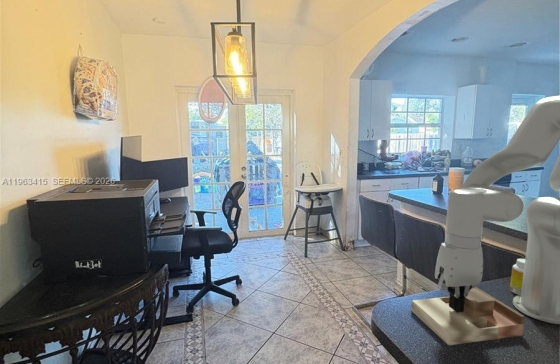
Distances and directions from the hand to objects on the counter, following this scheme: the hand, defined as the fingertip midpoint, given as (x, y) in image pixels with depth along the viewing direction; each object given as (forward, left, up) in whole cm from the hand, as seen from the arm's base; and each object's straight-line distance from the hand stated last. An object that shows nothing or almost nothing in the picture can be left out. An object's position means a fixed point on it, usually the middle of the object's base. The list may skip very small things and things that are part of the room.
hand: (455, 309), depth 75 cm
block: (-5, +2, -1) cm, 5 cm away
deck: (-2, +1, -4) cm, 5 cm away
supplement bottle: (-32, +7, -4) cm, 33 cm away
